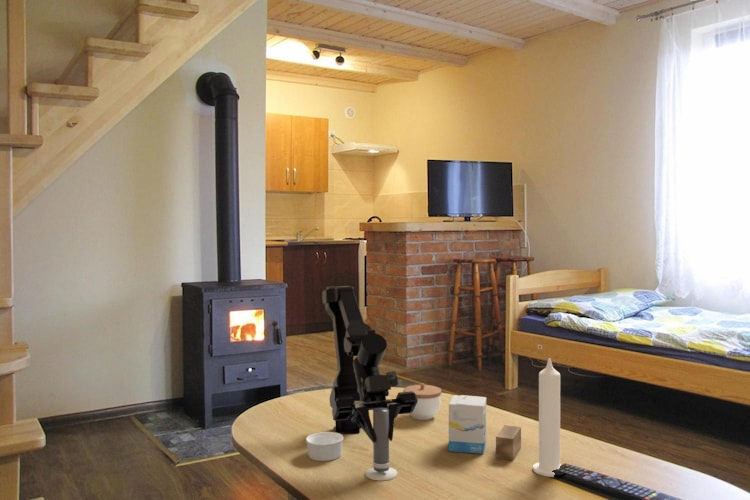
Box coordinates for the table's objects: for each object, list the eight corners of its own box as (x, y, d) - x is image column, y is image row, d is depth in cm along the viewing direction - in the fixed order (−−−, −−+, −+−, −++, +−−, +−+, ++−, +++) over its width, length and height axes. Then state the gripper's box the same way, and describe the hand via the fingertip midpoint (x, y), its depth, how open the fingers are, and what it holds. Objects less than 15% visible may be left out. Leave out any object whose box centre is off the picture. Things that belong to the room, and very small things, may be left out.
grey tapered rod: (371, 471, 136) (371, 412, 136) (375, 465, 140) (374, 407, 139) (387, 472, 136) (387, 412, 135) (390, 466, 139) (390, 408, 138)
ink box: (483, 454, 149) (483, 405, 148) (448, 451, 151) (447, 403, 150) (487, 442, 157) (487, 396, 156) (453, 439, 159) (452, 394, 159)
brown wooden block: (496, 457, 146) (495, 436, 146) (504, 445, 155) (504, 425, 154) (513, 460, 145) (513, 439, 144) (521, 447, 153) (521, 427, 153)
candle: (566, 466, 141) (567, 355, 140) (565, 479, 134) (565, 362, 133) (534, 463, 143) (534, 354, 142) (531, 475, 136) (531, 360, 135)
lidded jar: (447, 414, 180) (447, 382, 179) (430, 425, 170) (430, 390, 170) (415, 409, 185) (414, 377, 185) (396, 418, 176) (396, 385, 176)
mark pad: (365, 481, 134) (365, 479, 134) (365, 468, 141) (365, 466, 141) (398, 480, 134) (398, 479, 134) (396, 467, 141) (396, 466, 141)
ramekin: (309, 464, 144) (309, 445, 144) (303, 451, 152) (303, 433, 152) (347, 460, 146) (347, 441, 146) (339, 447, 155) (339, 429, 155)
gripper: (334, 362, 138) (346, 427, 128) (414, 356, 143) (432, 418, 133) (327, 388, 146) (338, 452, 136) (403, 382, 151) (420, 442, 141)
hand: (382, 441), depth 136 cm, fingers closed on grey tapered rod, 3 cm apart
